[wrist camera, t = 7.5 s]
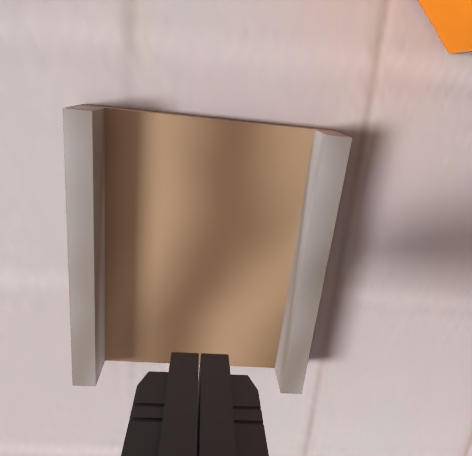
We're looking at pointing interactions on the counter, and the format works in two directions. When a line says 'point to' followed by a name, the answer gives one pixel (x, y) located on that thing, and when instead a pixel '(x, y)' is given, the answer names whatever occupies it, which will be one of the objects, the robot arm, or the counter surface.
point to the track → (197, 237)
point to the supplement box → (451, 22)
